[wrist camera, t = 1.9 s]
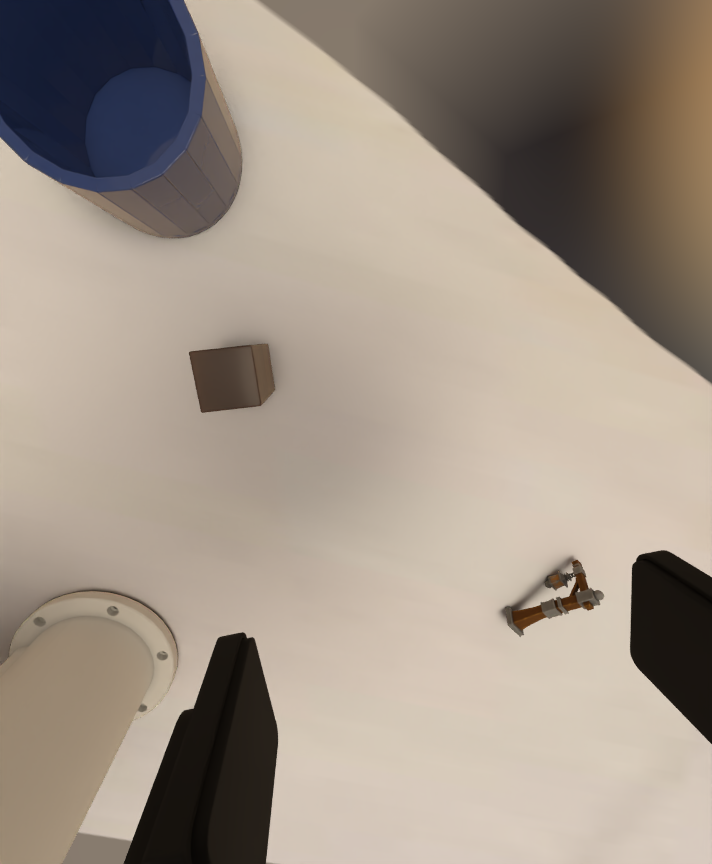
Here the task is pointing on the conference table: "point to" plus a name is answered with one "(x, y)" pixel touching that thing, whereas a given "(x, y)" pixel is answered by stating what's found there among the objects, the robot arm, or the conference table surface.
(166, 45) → the mug
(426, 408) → the conference table surface
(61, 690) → the robot arm
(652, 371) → the conference table surface
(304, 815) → the conference table surface
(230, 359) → the walnut peg
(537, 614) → the wooden post with brackets
